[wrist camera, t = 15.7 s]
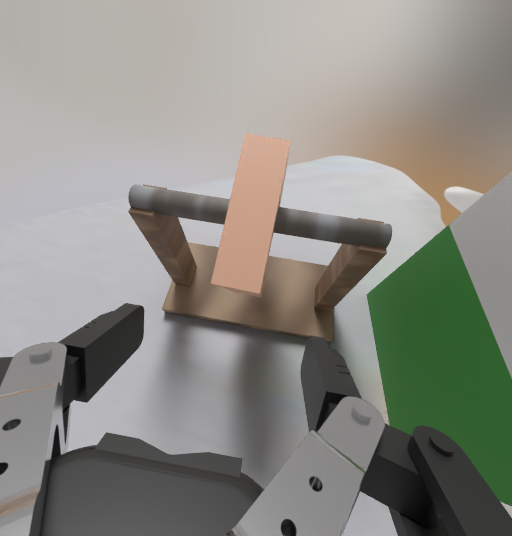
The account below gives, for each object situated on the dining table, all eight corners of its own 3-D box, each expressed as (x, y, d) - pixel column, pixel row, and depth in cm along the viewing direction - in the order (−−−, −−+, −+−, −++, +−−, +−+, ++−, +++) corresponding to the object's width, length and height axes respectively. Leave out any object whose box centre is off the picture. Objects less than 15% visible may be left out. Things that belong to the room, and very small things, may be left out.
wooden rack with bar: (164, 311, 30) (93, 239, 16) (188, 247, 35) (149, 147, 21) (330, 342, 29) (407, 292, 15) (332, 271, 34) (392, 182, 20)
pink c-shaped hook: (234, 292, 26) (210, 283, 14) (253, 206, 27) (245, 133, 16) (261, 297, 26) (259, 293, 14) (278, 211, 27) (290, 141, 15)
